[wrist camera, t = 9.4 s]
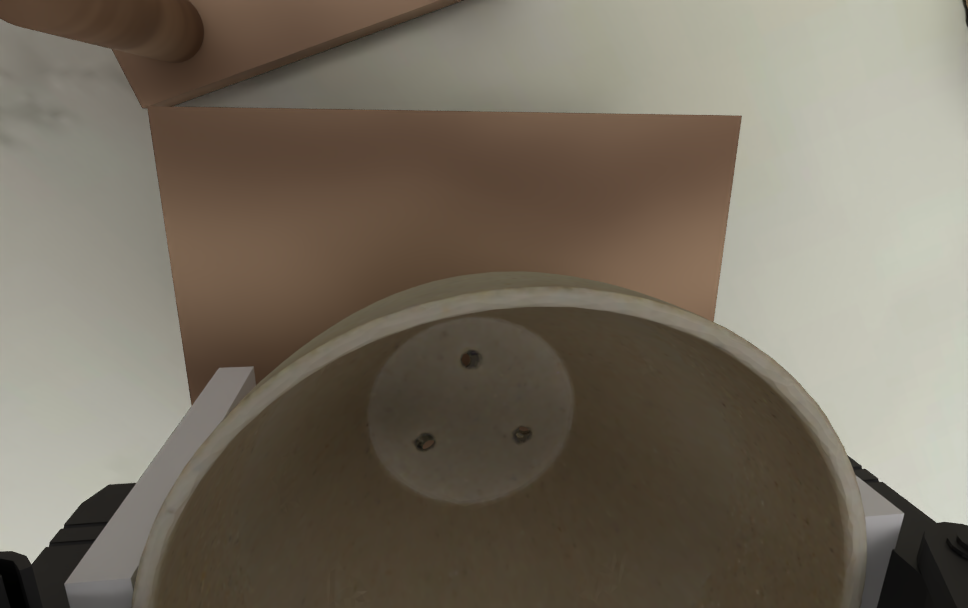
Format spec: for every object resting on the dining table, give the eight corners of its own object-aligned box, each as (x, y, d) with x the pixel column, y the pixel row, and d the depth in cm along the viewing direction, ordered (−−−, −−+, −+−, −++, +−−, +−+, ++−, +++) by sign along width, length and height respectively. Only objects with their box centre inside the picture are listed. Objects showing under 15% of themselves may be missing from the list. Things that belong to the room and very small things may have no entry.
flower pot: (631, 155, 13) (868, 194, 7) (679, 511, 17) (872, 781, 10) (192, 263, 13) (-40, 428, 6) (331, 610, 16) (281, 972, 9)
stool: (253, 111, 22) (147, 106, 13) (608, 116, 24) (741, 115, 15) (285, 438, 27) (222, 614, 17) (586, 421, 28) (679, 572, 19)
